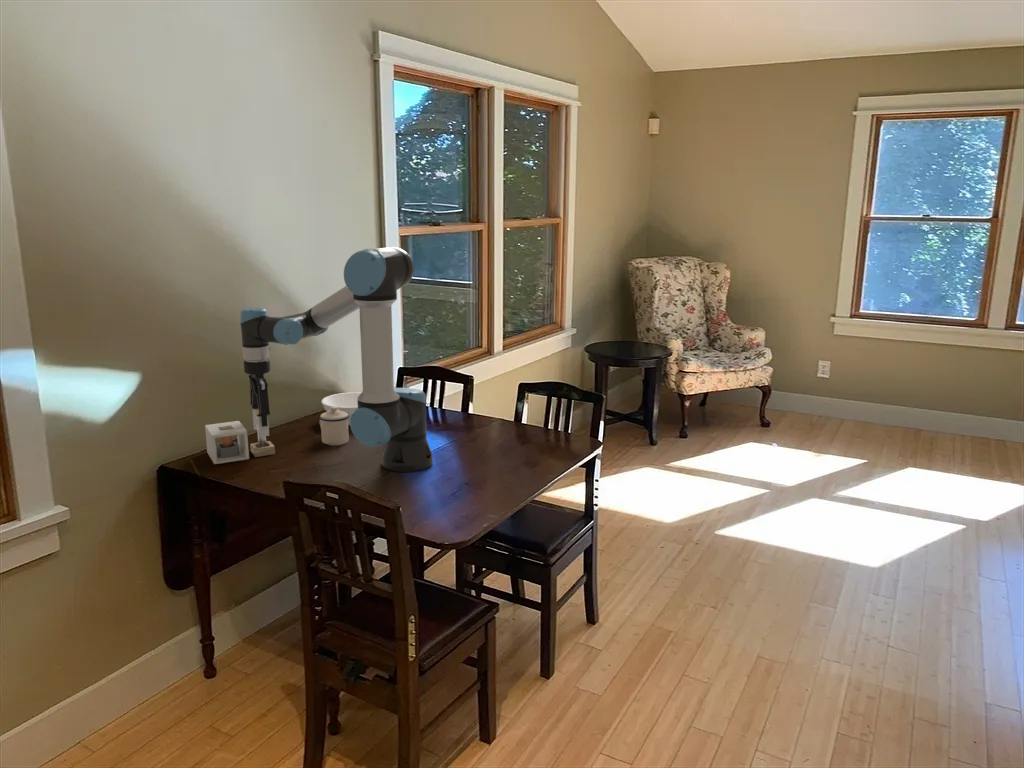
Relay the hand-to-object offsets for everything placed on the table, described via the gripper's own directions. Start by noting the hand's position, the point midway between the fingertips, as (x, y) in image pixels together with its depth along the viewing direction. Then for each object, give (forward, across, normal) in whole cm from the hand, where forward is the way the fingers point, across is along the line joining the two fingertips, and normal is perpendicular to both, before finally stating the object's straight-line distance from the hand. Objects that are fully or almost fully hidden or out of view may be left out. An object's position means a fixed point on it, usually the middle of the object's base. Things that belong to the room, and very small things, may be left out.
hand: (261, 432), depth 242 cm
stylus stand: (+7, 0, 0) cm, 7 cm away
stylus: (+6, 0, 0) cm, 6 cm away
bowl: (+7, +21, -36) cm, 42 cm away
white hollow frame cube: (+7, +2, +10) cm, 12 cm away
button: (+3, +2, +10) cm, 11 cm away
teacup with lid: (+7, +3, -23) cm, 24 cm away
